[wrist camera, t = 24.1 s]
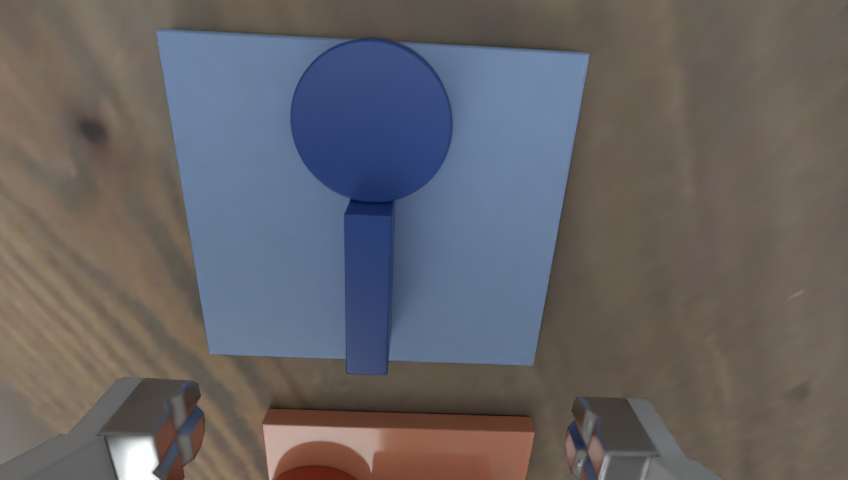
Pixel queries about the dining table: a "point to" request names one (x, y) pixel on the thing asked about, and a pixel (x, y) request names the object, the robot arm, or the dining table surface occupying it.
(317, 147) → the blue spoon
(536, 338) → the blue tile
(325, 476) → the terracotta spoon
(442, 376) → the dining table surface
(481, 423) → the terracotta tile
